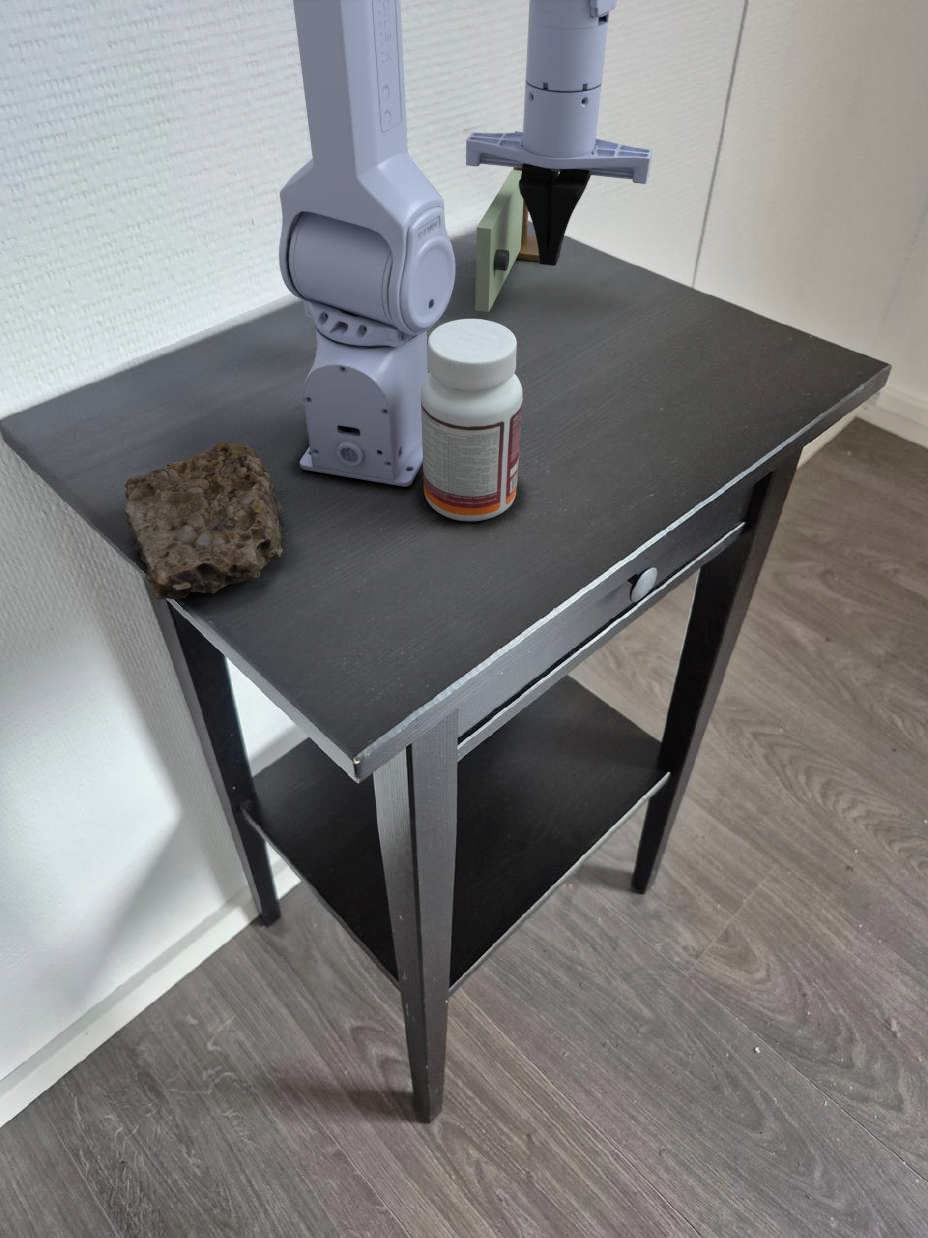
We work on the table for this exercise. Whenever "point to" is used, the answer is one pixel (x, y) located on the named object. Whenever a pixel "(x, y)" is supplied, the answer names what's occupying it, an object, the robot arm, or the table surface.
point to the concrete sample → (205, 521)
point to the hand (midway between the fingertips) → (549, 260)
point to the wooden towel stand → (527, 242)
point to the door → (498, 241)
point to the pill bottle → (471, 420)
